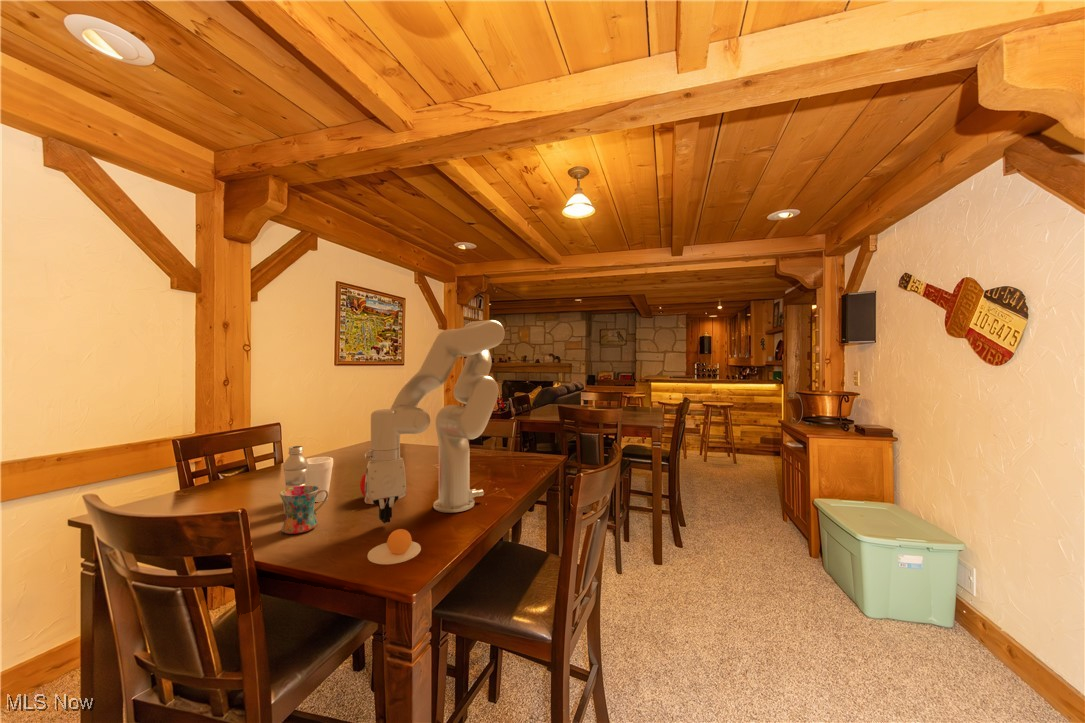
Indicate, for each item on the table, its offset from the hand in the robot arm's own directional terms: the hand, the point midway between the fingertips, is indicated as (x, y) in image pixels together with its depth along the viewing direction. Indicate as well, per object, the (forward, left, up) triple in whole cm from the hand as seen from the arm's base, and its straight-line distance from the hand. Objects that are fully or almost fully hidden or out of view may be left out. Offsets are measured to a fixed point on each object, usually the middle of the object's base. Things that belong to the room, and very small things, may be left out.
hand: (385, 521), depth 114 cm
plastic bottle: (+19, -25, -2) cm, 31 cm away
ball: (+2, +18, +1) cm, 18 cm away
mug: (+18, -12, -2) cm, 22 cm away
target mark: (+2, +17, -2) cm, 17 cm away
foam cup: (+12, -36, -2) cm, 38 cm away
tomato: (-5, -25, -2) cm, 26 cm away
